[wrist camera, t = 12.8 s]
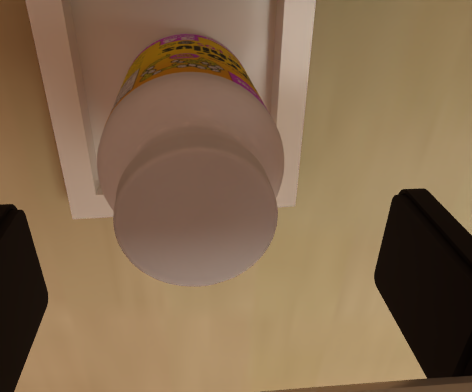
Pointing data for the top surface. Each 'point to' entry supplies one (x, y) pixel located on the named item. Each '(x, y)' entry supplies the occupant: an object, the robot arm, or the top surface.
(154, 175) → the supplement bottle
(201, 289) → the top surface
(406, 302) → the robot arm
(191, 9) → the ceramic tray
